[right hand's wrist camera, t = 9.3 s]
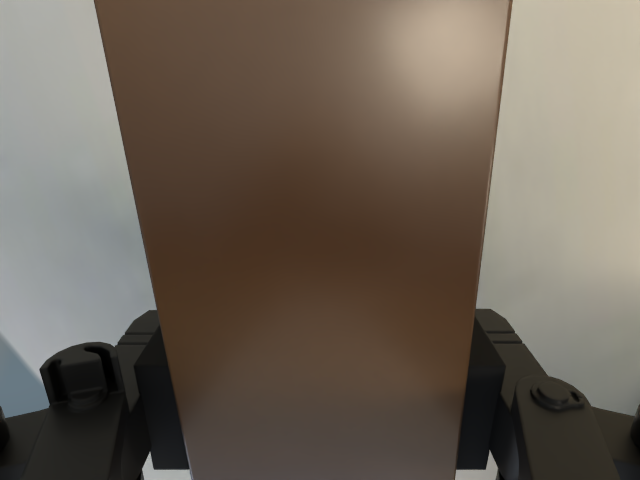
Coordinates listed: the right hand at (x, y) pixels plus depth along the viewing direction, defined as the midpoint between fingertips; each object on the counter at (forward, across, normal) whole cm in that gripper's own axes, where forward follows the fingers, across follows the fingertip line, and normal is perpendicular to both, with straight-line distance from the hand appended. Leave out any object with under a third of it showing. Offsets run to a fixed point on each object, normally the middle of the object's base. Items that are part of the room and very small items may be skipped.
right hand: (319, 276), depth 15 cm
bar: (+1, +1, -29) cm, 29 cm away
